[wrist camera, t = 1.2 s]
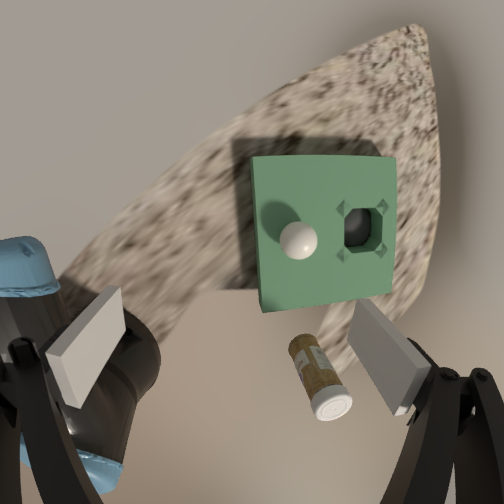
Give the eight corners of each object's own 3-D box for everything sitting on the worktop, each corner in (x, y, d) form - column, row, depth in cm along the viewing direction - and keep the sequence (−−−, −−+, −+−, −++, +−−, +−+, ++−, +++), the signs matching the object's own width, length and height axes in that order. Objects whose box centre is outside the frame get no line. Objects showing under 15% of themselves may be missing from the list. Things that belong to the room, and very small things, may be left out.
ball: (276, 255, 32) (285, 266, 28) (275, 220, 30) (283, 226, 27) (310, 252, 32) (323, 262, 28) (310, 217, 31) (322, 223, 27)
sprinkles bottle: (282, 343, 38) (308, 409, 25) (310, 326, 38) (347, 388, 25) (295, 362, 40) (323, 427, 27) (322, 347, 39) (358, 408, 27)
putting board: (259, 302, 36) (262, 312, 33) (249, 158, 31) (252, 156, 28) (380, 284, 38) (390, 292, 35) (383, 158, 33) (395, 157, 30)
